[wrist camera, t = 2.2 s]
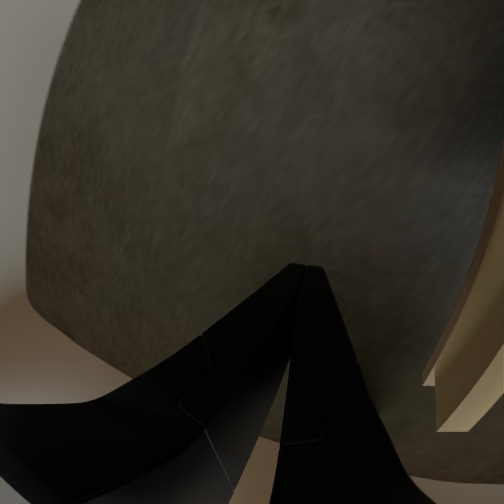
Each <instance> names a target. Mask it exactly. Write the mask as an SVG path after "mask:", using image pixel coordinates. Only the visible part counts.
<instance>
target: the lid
mask: <svg viewBox="0 0 504 504" xmlns="http://www.w3.org/2000/svg"><path fill="white" fill-rule="evenodd" d="M422 380H423V386H435V393H436V421H437V432H466V431H469V430H470V429H471V428H472V427H473V426H474V425H475V424H476V423H477V422H478V421H479V420H480V419H481V417H482V416H483V415H484V414H485V413H486V412H487V411H488V410H489V409H490V408H491V407H492V405H493V404H494V403H495V402H496V401H497V400H498V399H499V397H500V396H501V395H502V394H503V393H504V140H503V146H502V152H501V157H500V163H499V168H498V173H497V177H496V182H495V186H494V190H493V194H492V198H491V202H490V206H489V210H488V214H487V217H486V221H485V224H484V227H483V231H482V234H481V237H480V240H479V243H478V247H477V250H476V252H475V255H474V258H473V261H472V264H471V267H470V269H469V272H468V275H467V277H466V280H465V283H464V285H463V288H462V290H461V293H460V295H459V298H458V300H457V302H456V305H455V307H454V309H453V312H452V314H451V316H450V318H449V321H448V323H447V325H446V327H445V329H444V331H443V333H442V336H441V338H440V340H439V342H438V344H437V346H436V348H435V350H434V352H433V354H432V356H431V357H430V359H429V361H428V363H427V365H426V367H425V369H424V371H423V372H422Z"/></svg>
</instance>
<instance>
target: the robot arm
mask: <svg viewBox="0 0 504 504" xmlns="http://www.w3.org/2000/svg"><path fill="white" fill-rule="evenodd" d="M290 357H291V359H290ZM289 360H290V368H289V377H288V386H287V394H286V402H285V410H284V418H283V426H282V433H281V440H280V450H279V454H278V461H277V467H276V473H275V478H274V483H273V488H272V493H271V498H270V502H269V504H436V503H435V502H434V501H433V500H432V499H431V498H429V497H428V496H427V495H426V494H425V493H424V492H423V491H422V490H421V489H420V488H419V487H418V486H417V485H416V484H415V483H414V482H413V480H412V479H411V477H410V476H409V474H408V472H407V471H406V469H405V467H404V465H403V463H402V461H401V459H400V457H399V455H398V453H397V451H396V449H395V446H394V444H393V442H392V440H391V438H390V436H389V434H388V432H387V430H386V428H385V426H384V424H383V422H382V420H381V418H380V416H379V413H378V411H377V409H376V407H375V405H374V402H373V400H372V398H371V396H370V393H369V391H368V388H367V385H366V383H365V380H364V377H363V374H362V371H361V369H360V366H359V363H357V362H358V360H357V357H356V354H355V352H354V349H353V346H352V343H351V340H350V337H349V335H348V332H347V329H346V326H345V324H344V321H343V318H342V315H341V313H340V310H339V307H338V305H337V302H336V299H335V297H334V294H333V291H332V289H331V286H330V283H329V281H328V278H327V276H326V273H325V271H324V268H323V267H320V266H312V265H309V266H307V267H306V265H304V264H296V263H290V264H289V265H287V266H286V267H285V268H284V269H282V270H281V271H280V272H279V273H277V274H276V275H275V276H274V277H273V278H271V279H270V280H269V281H268V282H266V283H265V284H264V285H263V286H261V287H260V288H259V289H258V290H256V291H255V292H254V293H253V294H251V295H250V296H249V297H248V298H246V299H245V300H244V301H243V302H241V303H240V304H239V305H238V306H236V307H235V308H234V309H232V310H231V311H230V312H229V313H227V314H226V315H225V316H224V317H222V318H221V319H220V320H218V321H217V322H216V323H215V324H213V325H212V326H211V327H210V328H208V329H207V330H206V331H204V332H203V333H202V336H201V335H199V336H198V337H196V338H195V339H194V340H193V341H191V342H190V343H189V344H187V345H186V346H184V347H183V348H182V349H180V350H179V351H178V352H176V353H175V354H173V355H172V356H170V357H169V358H167V359H166V360H164V361H163V362H161V363H159V364H158V365H156V366H155V367H153V368H151V369H150V370H148V371H146V372H145V373H143V374H141V375H139V376H138V377H136V378H134V379H133V380H131V381H129V382H127V383H126V384H124V385H122V386H121V387H119V388H117V389H115V390H114V391H112V392H110V393H108V394H106V395H104V396H102V397H100V398H97V399H95V400H91V401H88V402H82V403H70V404H2V403H0V504H228V503H229V501H230V499H231V497H232V495H233V492H234V491H233V490H234V489H235V488H236V486H237V484H238V482H239V480H240V477H241V475H242V473H243V471H244V469H245V466H246V464H247V462H248V460H249V457H250V455H251V453H252V451H253V448H254V446H255V444H256V441H257V439H258V437H259V434H260V432H261V430H262V427H263V425H264V423H265V420H266V418H267V415H268V413H269V411H270V408H271V406H272V403H273V401H274V398H275V396H276V393H277V391H278V388H279V386H280V383H281V380H282V378H283V375H284V373H285V370H286V367H287V365H288V362H289Z"/></svg>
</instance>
